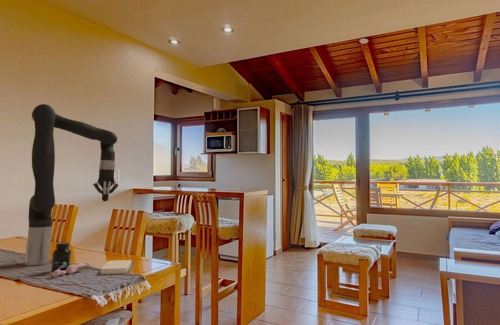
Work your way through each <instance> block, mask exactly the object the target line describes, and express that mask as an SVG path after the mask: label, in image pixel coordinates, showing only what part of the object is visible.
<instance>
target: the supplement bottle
mask: <svg viewBox="0 0 500 325" xmlns="http://www.w3.org/2000/svg"><path fill="white" fill-rule="evenodd" d="M71 256H72V250H71V249H70V242H64V241H63V242H57V243H56V244H55V250H53V252H52V259H51V267H50V268H51V269H50V271H51V273H52V272H54V271H55V270H57V269H59V267H60V266H62V265H63V262H66V267H64V268H61V269H60V270H62V271H65V270H66V269H67V267H68V266H69V265H71V260H72V259H71Z"/></svg>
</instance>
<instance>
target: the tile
mask: <svg viewBox="0 0 500 325" xmlns="http://www.w3.org/2000/svg"><path fill="white" fill-rule="evenodd" d="M132 261H133V260H132V259H131V260H130V259H129V260H127V259H125V260H122V259H121V260H120V259H119V260H108V261H107V262H106V263H105V264H104V265H103V266H102V267H101V268H100V272H101V274H126V273H127V271H128V270H129V268H130V267H131V264H132Z"/></svg>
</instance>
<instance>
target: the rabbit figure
mask: <svg viewBox="0 0 500 325" xmlns="http://www.w3.org/2000/svg"><path fill="white" fill-rule="evenodd" d="M88 266H89V265H88V264H85V263H77V264H70V265H69V266H68V267H67V269H66V270H65V271H62V270H60V269H61V268H64V267H66V262H63V265H62V266H60V267H59V269H57V270H55V271H54V272H49V273H46V278H48V279H51V277H52V278H53V279H57V278H58V277H60V276H62V275H65V274H68V275H72V274H74V273H76V272H77V271H78V270H79V269H81V268H83V267H88Z"/></svg>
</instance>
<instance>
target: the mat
mask: <svg viewBox="0 0 500 325" xmlns="http://www.w3.org/2000/svg"><path fill="white" fill-rule="evenodd" d="M135 264H136V262H135V261H134V262H132V264H131V267H130V268H129V270H128V271H127V273H126V274H101V271H100V272H99V273H98V274H97V275H96V276H99V277H100V276H103V277H104V276H124V275H125V276H127V275H128V276H129V274H130V272H131V270H132V269H133V267H134V265H135Z"/></svg>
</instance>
